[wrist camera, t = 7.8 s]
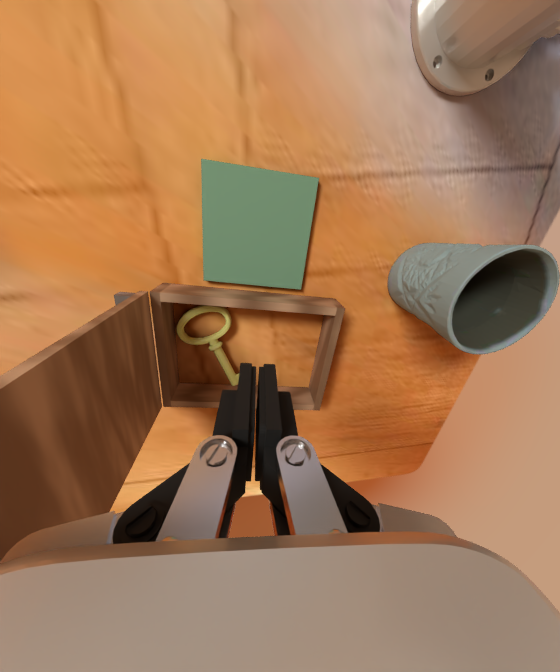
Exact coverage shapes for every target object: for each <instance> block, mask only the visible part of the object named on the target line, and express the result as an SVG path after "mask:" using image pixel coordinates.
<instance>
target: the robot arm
mask: <svg viewBox="0 0 560 672" xmlns="http://www.w3.org/2000/svg"><path fill="white" fill-rule="evenodd" d="M556 34H560V0H412V5H411V35H412V44H413V49H414V52H415V56H416V60H417V62H418V65H419V67H420V69H421V71H422V73H423V75H424V76H425V77H426V79H427V80H428V81H429V83H430V84H431V85H433V86H434V87H435V88H436V89H438V90H439V91H441V92H443V93H446V94H448V95H455V96H464V95H469V94H474V93H476V92H478V91H481V90H483V89H485V88H487V87H488V86H490V85H492V84H493V83H495V82H497V81H498V80H500V79H501V78H502V77H503V76H505V75H506V74H507V73H508V72H510V71H511V70H512V69H513V68H514V67H515V65H516V64H517V63H518V62H519V61H520V60H521V59H522V58H523V57H524V55H525V54H526V52H527V51H528V50H529V48H530V47H531V46H532V44H533V43H534V42H535V41H536V40H538V39H539V38H541V37H544V38H547V39H548V38H551V37H553V36H555V35H556ZM255 393H256V367H252V364H251V363H241V365H240V373H239V381H238V389H237V390H222V393H221V398H220V403H219V408H218V412H217V417H216V422H215V427H214V431H213V436H211V437H209V438H207V439H205V440H204V441H202V442H201V443H200V444H199V446H198V447H197V449H196V451H195V453H194V455H193V458H192V460H191V462H190V463H189V464H188V465H186V466H185V467H183V468H182V469H181V470H179V471H178V472H177V473H175V474H174V475H172V476H171V477H170V478H168V479H167V480H166V481H164V482H163V483H161V484H160V485H159V486H157V487H156V488H154V489H153V490H152V491H150V492H149V493H148V494H146V495H145V496H143V497H142V498H141V499H139V500H138V501H137V502H135V503H134V504H132V505H131V506H130V507H129V508H128V509H127V510H126V511H125V512H121V513H117V514H116V513H115V511H112V512H108V513H104V514H100V515H96V516H92V517H88V518H85V519H81V520H77V521H73V522H69V523H65V524H61V525H57V526H53V527H49V528H45V529H41V530H39V531H36V532H34V533H32V534H29V535H28V536H26V537H25V538H23V539H22V540H20V541H19V542H18V543H16V544H15V545H14V546H13V547H12V548H11V549H10V550H9V551H8V552H7V553H6V555H5V556H4V557H3V559H2V560H1V562H0V672H560V613H559V611H558V610H557V609H556V608H555V607H554V605H553V604H552V603H551V602H550V601H549V600H548V598H547V597H546V596H545V595H544V594H543V593H542V592H541V590H540V589H539V588H538V587H537V586H536V585H535V584H534V583H533V582H532V581H531V580H530V579H529V578H528V577H527V576H526V575H525V574H524V573H523V572H522V571H521V570H519V569H518V568H517V567H516V566H515V565H513V564H512V563H510V562H509V561H508V560H506V559H505V558H503V557H501V556H499V555H498V554H496V553H494V552H492V551H490V550H488V549H486V548H484V547H482V546H479V545H477V544H474V543H472V542H469V541H466V540H463V539H460V538H458V537H456V535H455V534H454V532H453V531H452V529H451V528H450V527H449V526H448V525H447V524H446V523H445V522H443V521H442V520H440V519H439V518H437V517H434V516H432V515H428V514H424V513H420V512H415V511H411V510H407V509H402V508H398V507H393V506H389V505H385V504H380V503H378V505H377V506H376V505H372V504H371V503H370V502H369V501H367V500H366V499H365V498H364V497H363V496H362V495H360V494H359V493H358V492H356V491H355V490H354V489H353V488H351V487H350V486H348V485H347V484H346V483H345V482H343V481H342V480H341V479H340V478H338V477H337V476H336V475H334V474H333V473H332V472H330V471H329V470H328V469H327V468H325V467H324V466H323V465H321V464H320V462H319V460H318V457H317V455H316V452H315V450H314V448H313V446H312V444H311V443H310V442H309V441H308V440H306V439H304V438H303V437H299V436H298V433H297V427H296V421H295V416H294V410H293V404H292V399H291V394H290V392H288V391H278V388H277V378H276V369H275V364H264V367H259V379H258V393H257V406H256V451H255V481H260V490H262V493H263V494H264V495H265V496H266V497H267V498H268V499H269V505H270V512H271V518H272V524H273V529H274V535H275V536H264V537H241V538H228V537H229V533H230V528H231V524H232V519H233V514H234V510H235V503H236V501H237V500H238V499H239V498H240V497H241V496H242V495H243V494H244V493H245V484H246V481H251V473H252V460H253V446H254V432H255Z"/></svg>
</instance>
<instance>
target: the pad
mask: <svg viewBox="0 0 560 672" xmlns="http://www.w3.org/2000/svg"><path fill="white" fill-rule="evenodd" d="M201 167H202V219H203V271H204V280H206V281H217V282H227V283H238V284H248V285H258V286H269V287H279V288H290V289H300V290H301V287H302V280H303V274H304V268H305V262H306V256H307V249H308V243H309V237H310V231H311V224H312V218H313V212H314V206H315V200H316V193H317V187H318V181H319V178H316V177H309V176H303V175H297V174H291V173H285V172H279V171H273V170H267V169H261V168H254V167H248V166H242V165H236V164H230V163H224V162H218V161H212V160H206V159H201Z"/></svg>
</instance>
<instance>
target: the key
mask: <svg viewBox="0 0 560 672" xmlns="http://www.w3.org/2000/svg"><path fill="white" fill-rule="evenodd" d="M206 312H218V313H221V314H222V315H223V316H224V317H225V319H226V324H225V326H224V327H223V328H222V329H221V330H220V331H218V332H217V333H215V334H212V335H210V336H207V337H202V338H193V337H190V336H188V335H187V334H186V333H185V331H184V326H185V324H186V323H187V322H188V321H189V320H190V319H192V318H193V317H195V316H197V315H199V314H202V313H206ZM230 326H231V316H230V313H229V312H228V310H227V309H225V308H224V307H222V306H209V305H201V306H198V307H195V308H193V309H191V310H189V311H187V312H186V313H185V314H184V315H183V316H182V317H181V318H180V320H179V322H178V324H177V334H178V336H179V338H180V339H181V340H182V341H183V342H185V343H187V344H192V345H201V344H205V343H209V344H210V346H209V350H210V351H214V353H215V355H216V357H217V359H218V361H219V362H220V364H221V366H222V368H223V370H224V372H225V373H226V375H227V377H228V379H229V381H230V383H231V384H232V386H235V385H237V384H238V381H239V373H238V374H235V372H234V370H233V368H232V366H231V364H230V362H229V360H228V359H227V357H226V355H225V353H224V351H223V349H222V347H221V346H222V344H223V343H222V342H221V341H218V340H217V339H218V338H220V337H221V336H223V335H224V334H225V333H226V332H227V331H228V330H229V328H230Z"/></svg>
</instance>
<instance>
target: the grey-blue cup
mask: <svg viewBox="0 0 560 672" xmlns="http://www.w3.org/2000/svg"><path fill="white" fill-rule="evenodd" d="M559 277H560V275H559V270H558V265H557V261H556V260H555V258H554V257H553V255H552V254H551V253H550V252H549V251H547V250H546V249H543V248H541V247H539V246H534V245H487V246H484V247H482V246H481V245H480V244H448V243H423V244H419V245H416V246H414V247H412V248H410V249H408V250H406V251H405V252H404V253H403V254H401V256H400V257H399V258H398V259H397V260H396V262H395V263H394V264H393V266H392V268H391V270H390V273H389V277H388V290H389V293H390V296H391V297H392V299H393V300H394V301H395V302H396V303H397V304H398V305H400V306H401V307H402V308H404V309H405V310H407V311H408V312H410V313H412V314H414V315H415V316H416V317H417V318H418V319H420V320H422V321H423V322H425V323H427V324H428V325H430V326H431V327H432V328H433V329H434V330H435V331H436V332H437V333H438V334H440V335H441V336H442V337H444V338H445V339H446V340H448V341H449V342H450V343H451V344H453V345H454V346H455V347H457V348H458V349H460V350H462V351H464V352H467V353H471V354H488V353H492V352H496V351H498V350H501V349H504V348H506V347H508V346H510V345H512V344H513V343H515V342H517V341H518V340H520V339H521V338H522V337H524V336H525V335H526V334H528V333H529V332H530V331H531V330H532V329H533V328H534V327H535V326H536V325H537V324H538V323H539V322H540V320H541V319H542V318H543V317H544V316H545V314H546V313H547V311H548V310H549V308H550V307H551V304H552V303H553V301H554V299H555V296H556V293H557V290H558V285H559Z"/></svg>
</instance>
